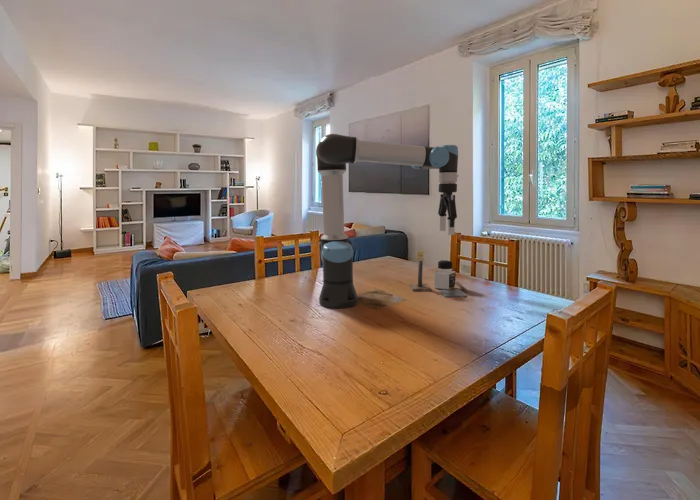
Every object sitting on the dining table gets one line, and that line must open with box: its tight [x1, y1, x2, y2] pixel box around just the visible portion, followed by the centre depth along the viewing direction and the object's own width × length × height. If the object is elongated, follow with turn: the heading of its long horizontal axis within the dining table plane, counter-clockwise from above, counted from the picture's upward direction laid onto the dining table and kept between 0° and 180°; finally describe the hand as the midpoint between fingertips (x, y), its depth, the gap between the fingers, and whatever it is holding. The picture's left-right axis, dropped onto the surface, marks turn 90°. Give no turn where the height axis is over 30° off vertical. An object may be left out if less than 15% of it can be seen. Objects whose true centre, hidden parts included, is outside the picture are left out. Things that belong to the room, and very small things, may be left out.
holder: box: [409, 261, 469, 293], centre depth 168 cm, size 23×14×12 cm, turn 91°
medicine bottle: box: [433, 259, 457, 290], centre depth 168 cm, size 7×7×12 cm
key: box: [416, 250, 427, 262], centre depth 170 cm, size 15×3×4 cm, turn 162°
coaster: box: [439, 289, 468, 298], centre depth 160 cm, size 9×9×1 cm
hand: (446, 232), depth 165 cm, fingers open, 13 cm apart
